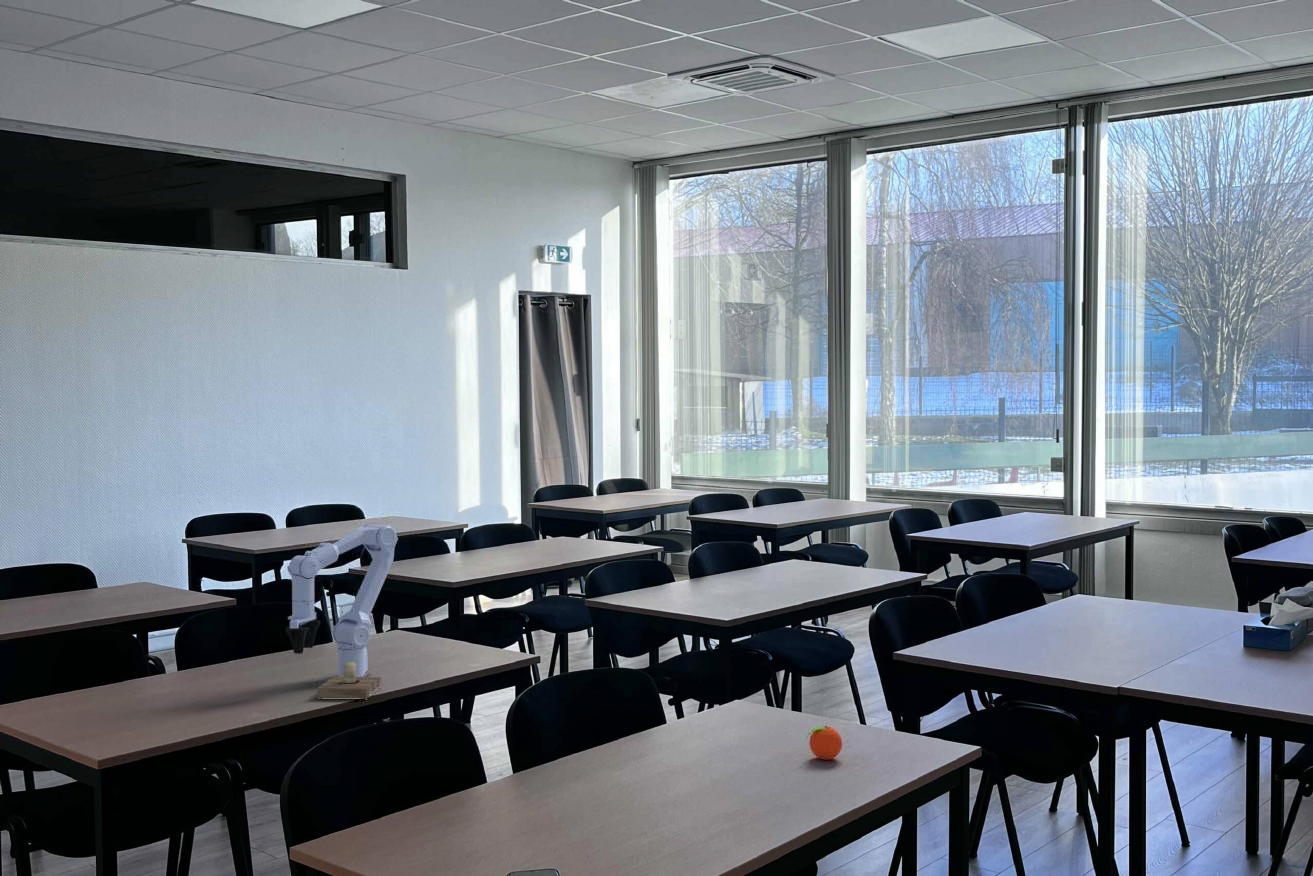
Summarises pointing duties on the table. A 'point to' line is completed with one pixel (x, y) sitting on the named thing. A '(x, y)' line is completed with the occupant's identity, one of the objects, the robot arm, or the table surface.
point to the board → (348, 688)
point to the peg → (349, 673)
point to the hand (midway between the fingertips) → (303, 650)
